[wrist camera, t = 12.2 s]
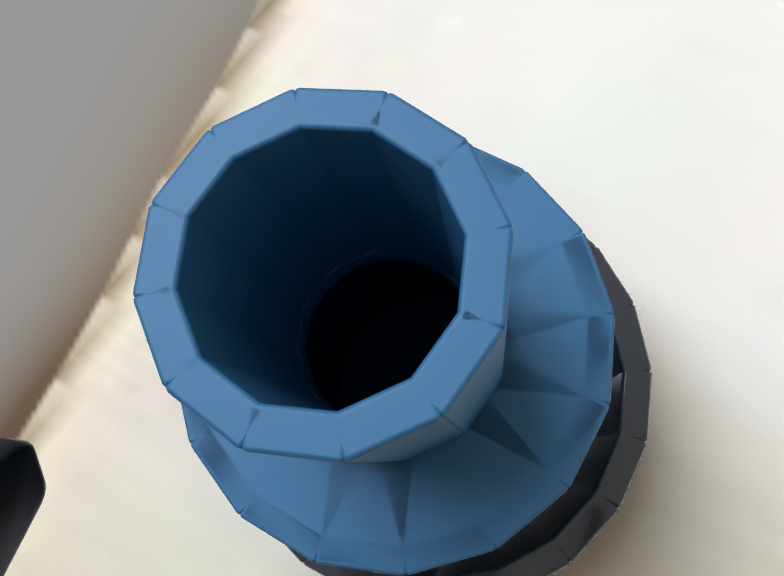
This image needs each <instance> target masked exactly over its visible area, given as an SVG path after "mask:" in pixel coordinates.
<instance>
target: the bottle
mask: <svg viewBox="0 0 784 576" xmlns="http://www.w3.org/2000/svg"><path fill="white" fill-rule="evenodd" d="M152 204H153V205H151V206H150V207H149V211H148V216H147V221H146V227H145V232H144V237H143V243H142V248H141V253H140V259H139V264H138V269H137V275H136V280H135V285H134V291H133V294H134V297H135V298H134V304H135V307H136V309H137V312H138V315H139V318H140V321H141V324H142V327H143V330H144V333H145V335H146V338H147V341H148V344H149V347H150V350H151V353H152V356H153V358H154V361H155V364H156V367H157V370H158V373H159V376H160V379H161V381H162V384H163V385H164V386H165V387H166V389H167V391H168V393H170V394H171V395H172V396H173V397H174V398H176V399H177V400H178V401H179V402H181V405H182V409H183V414H184V419H185V424H186V428H187V433H188V438H189V441H190V443H192V444H191V446H192V448H193V450H194V451H195V453H196V454H197V455H198V457H199V458H200V460H201V461H202V463H203V464H204V466H205V467H206V469H207V470H208V471H209V473H210V474H211V476H212V477H213V479H214V480H215V482H216V483H217V484H218V486H219V487H220V489H221V490H222V492H223V493H224V495H225V496H226V498H227V499H228V500H229V502H230V503H231V505H232V506H233V508H234V509H235V511H236V512H237V513H238V514H241V517H242V518H243V519H245V520H246V521H248V522H250V523H251V524H253V525H254V526H256V527H258V528H259V529H261V530H263V531H264V532H266V533H267V534H269V535H271V536H272V537H274V538H275V539H277V540H279V541H280V542H282V543H283V544H285V545H287V546H288V547H290V548H291V549H293V550H295V551H296V552H298V553H299V554H301V555H303V556H304V557H306V558H307V559H309V560H311V561H314V562H315V561H316V562H317V563H318V564H324V565H331V566H338V567H346V568H353V569H360V570H367V571H374V572H381V573H389V574H396V575H405V574H407V575H411V574H415V573H418V572H422V571H425V570H429V569H432V568H436V567H439V566H443V565H446V564H449V563H453V562H456V561H460V560H463V559H467V558H470V557H474V556H477V555H481V554H484V553H487V552H491V551H493V550H495V547H496V548H499V547H501V546H502V545H503V544H504V543H505V542H507V541H508V540H509V539H510V538H511V537H513V536H514V535H515V534H516V533H517V532H518V531H520V530H521V529H522V528H523V527H524V526H526V525H527V524H528V523H529V522H530V521H532V520H533V519H534V518H535V517H536V516H538V515H539V514H540V513H541V512H542V511H543V510H545V509H546V508H547V507H548V506H549V505H551V504H552V503H553V502H554V501H555V500H557V499H558V498H559V497H560V496H561V495H562V494H564V493H565V492H566V491H567V489H568V488H567V487H570V486H571V484H572V482H573V480H574V478H575V476H576V474H577V472H578V470H579V468H580V466H581V464H582V462H583V460H584V458H585V456H586V454H587V452H588V450H589V448H590V446H591V444H592V442H593V440H594V438H595V436H596V434H597V432H598V430H599V428H600V425H601V423H602V421H603V419H604V417H605V415H606V413H607V411H608V409H609V405H608V404H610V402H611V387H612V366H613V345H614V324H615V317H614V315H613V313H614V310H613V307H612V305H611V302H610V299H609V297H608V294H607V291H606V289H605V286H604V283H603V281H602V278H601V275H600V273H599V270H598V267H597V265H596V262H595V259H594V257H593V254H592V251H591V249H590V246H589V243H588V241H587V238H586V235H585V234H584V233H582V229H581V228H580V227H579V226H578V225H577V224H576V223H575V222H574V221H573V219H572V218H571V217H570V216H569V215H568V214H567V213H566V212H565V211H564V210H563V209H562V208H561V207H560V206H559V205H558V204H557V203H556V202H555V201H554V199H553V198H552V197H551V196H550V195H549V194H548V193H547V192H546V191H545V190H544V189H543V188H542V187H541V186H540V185H539V184H538V183H537V182H536V181H535V179H534V178H533V177H532V176H531V175H530V174H529V173H528V172H526V171H525V172H524V170H523V169H522V168H520V167H518V166H515V165H513V164H511V163H509V162H506V161H504V160H502V159H500V158H497V157H495V156H493V155H491V154H489V153H486V152H484V151H482V150H480V149H477V148H475V147H473V146H472V145H471V144H470V143H468V141H467V140H466V138H464V137H463V136H461V135H459V134H458V133H456V132H455V131H453V130H451V129H450V128H448V127H446V126H445V125H443V124H442V123H440V122H438V121H437V120H435V119H433V118H432V117H430V116H428V115H427V114H425V113H424V112H422V111H420V110H419V109H417V108H415V107H414V106H412V105H411V104H409V103H407V102H406V101H404V100H402V99H401V98H399V97H398V96H396V95H394V94H391V93H389V94H388V93H387V92H385V91H370V90H342V89H315V88H298V89H296V91H295V90H289V91H287V92H285V93H283V94H280V95H278V96H276V97H274V98H272V99H270V100H268V101H266V102H264V103H261V104H259V105H257V106H255V107H253V108H251V109H249V110H247V111H244V112H242V113H240V114H238V115H236V116H234V117H232V118H230V119H228V120H225V121H223V122H221V123H219V124H217V125H215V126H213V127H212V128H211V131H209V130H208V131H207V132H206V133H205V134H204V135H203V136H202V138H201V139H200V140H199V142H198V143H197V144H196V145H195V147H194V148H193V149H192V150H191V152H190V153H189V154H188V156H187V157H186V158H185V159H184V161H183V162H182V163H181V164H180V166H179V167H178V168H177V170H176V171H175V172H174V173H173V175H172V176H171V177H170V178H169V180H168V181H167V182H166V184H165V185H164V186H163V187H162V189H161V190H160V191H159V192H158V194H157V195H156V196H155V198H154V199H153V201H152Z"/></svg>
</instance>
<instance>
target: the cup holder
mask: <svg viewBox="0 0 784 576" xmlns="http://www.w3.org/2000/svg"><path fill="white" fill-rule="evenodd" d="M587 241H588V243H589V246H590V249H591V251H592V254H593V257H594V259H595V262H596V265H597V267H598V270H599V273H600V275H601V278H602V281H603V283H604V286H605V289H606V291H607V294H608V297H609V299H610V302H611V305H612V307H613V310H614V313H613V315H614V317H615V324H614V345H613V366H612V387H611V402H610V404H608V405H609V409H608V411H607V413H606V415H605V417H604V419H603V421H602V423H601V425H600V428H599V430H598V432H597V434H596V436H595V438H594V440H593V442H592V444H591V446H590V448H589V450H588V452H587V454H586V456H585V458H584V460H583V462H582V464H581V466H580V468H579V470H578V472H577V474H576V476H575V478H574V480H573V482H572V484H571V486H570V487H567V488H568V489H567V491H566V492H565V493H564V494H562V495H561V496H560V497H559V498H558V499H557V500H555V501H554V502H553V503H552V504H551V505H549V506H548V507H547V508H546V509H545V510H543V511H542V512H541V513H540V514H539V515H538V516H536V517H535V518H534V519H533V520H532V521H530V522H529V523H528V524H527V525H526V526H524V527H523V528H522V529H521V530H520V531H518V532H517V533H516V534H515V535H514V536H513V537H511V538H510V539H509V540H508V541H507V542H505V543H504V544H503V545H502V546H501V547H499V548H496V547H495V550H493V551H491V552H487V553H484V554H481V555H477V556H474V557H470V558H467V559H463V560H460V561H456V562H453V563H449V564H446V565H443V566H439V567H436V568H432V569H429V570H425V571H422V572H418V573H415V574H411V575H407V574H405V575H396V574H389V573H381V572H374V571H367V570H360V569H353V568H346V567H338V566H331V565H324V564H318V563H317V562H316V561H315V562H314V561H311V560H309V559H307V558H306V557H304V556H303V555H301V554H299V553H298V552H296V551H295V550H293V549H291V548H290V547H288V546H287V545H286V546H287V547H288V548H289V550H290V551H291V552H292V553H293V554H294V555H295V556H296V557H297V558H298V559H299V560H300V561H301V562H304V564H305V566H307V567H309V568H311V569H312V570H314V571H316V572H318V573H320V574H321V575H323V576H549V575H551V574H553V573H555V572H557V571H559V570H560V569H562V568H564V567H566V566H568V565H569V563H570V562H572V561H574V560H575V559H576V558H577V556H578V555H579V554H580V553H581V552H582V551H583V550H584V549H585V548H586V546H587V545H588V544H589V543H590V542H591V541H592V540H593V539H594V537H595V536H596V535H597V534H598V533H599V532H600V531H601V530H602V528H603V527H604V526H605V525H606V524H607V523H608V522H609V521H610V520H611V518H612V517H613V516H614V515H615V514H616V513H617V511H618V508H619V507H620V506H621V505H622V503H623V500H624V498H625V495H626V493H627V490H628V488H629V486H630V483H631V481H632V478H633V476H634V474H635V471H636V469H637V466H638V464H639V462H640V459H641V457H642V454H643V452H644V450H645V447H646V442H645V441H647V439H648V428H649V412H650V397H651V381H652V373H651V372H650V371H651V365H650V361H649V357H648V354H647V350H646V346H645V342H644V339H643V335H642V331H641V327H640V324H639V320H638V316H637V312H636V308H635V306H634V305H632V304H633V301H632V299H631V297H630V296H629V294H628V293H627V291H626V290H625V288H624V287H623V285H622V284H621V282H620V281H619V279H618V277H617V276H616V274H615V273H614V271H613V270H612V268H611V267H610V265H609V264H608V262H607V261H606V259H605V257H604V256H603V254H602V253H601V251H600V250H599V248H597V247H596V246H595V244H593V243H592V242H591V241H590V240H588V239H587ZM617 507H618V508H617ZM569 561H570V562H569Z"/></svg>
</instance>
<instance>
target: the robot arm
mask: <svg viewBox="0 0 784 576" xmlns="http://www.w3.org/2000/svg"><path fill="white" fill-rule="evenodd" d="M45 490H46V483H45V479H44V476H43V473H42V470H41V467H40V464H39V461H38V457H37V454H36V451H35V449H34V447H33V445H32V444H31V443H30V442H27V441H23V440H18V439H13V438H6V437H3V438H0V576H4V575H5V573H6V571H7V569H8V567H9V565H10V563H11V561H12V559H13V557H14V555H15V553H16V551H17V549H18V548H19V546H20V544H21V542H22V540H23V538H24V536H25V534H26V532H27V530H28V528H29V526H30V524H31V523H32V521H33V519H34V517H35V515H36V513H37V511H38V509H39V507H40V505H41V503H42V501H43V498H44V495H45Z"/></svg>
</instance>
